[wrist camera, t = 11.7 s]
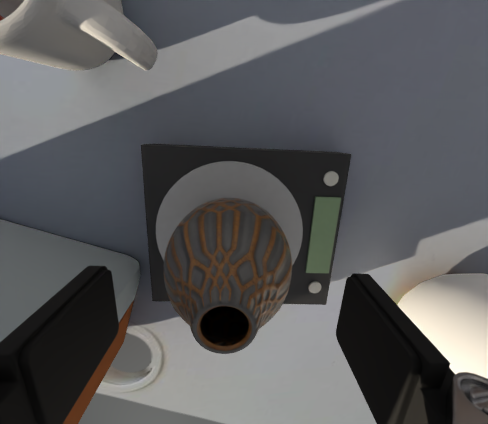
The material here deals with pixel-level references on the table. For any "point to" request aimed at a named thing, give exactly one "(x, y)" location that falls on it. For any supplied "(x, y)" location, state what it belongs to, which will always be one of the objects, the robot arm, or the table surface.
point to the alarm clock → (59, 285)
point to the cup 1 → (72, 33)
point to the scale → (256, 191)
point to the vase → (227, 272)
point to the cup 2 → (453, 318)
